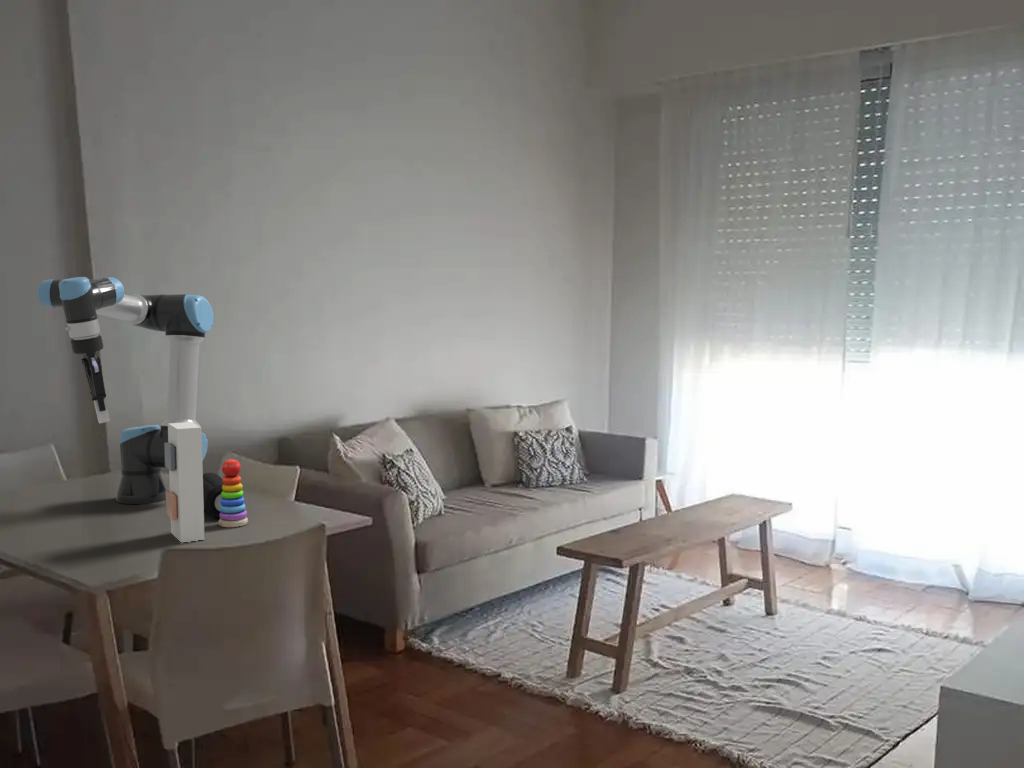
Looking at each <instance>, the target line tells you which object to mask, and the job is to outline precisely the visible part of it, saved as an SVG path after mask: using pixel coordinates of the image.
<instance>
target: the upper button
mask: <svg viewBox="0 0 1024 768" xmlns="http://www.w3.org/2000/svg"><path fill="white" fill-rule="evenodd" d="M164 448H165V467H166V468H165V469H167V470H168V471H169V470H170V471H175V468H177V464H176V447H175V446H174V445H171V444H170V443H164Z"/></svg>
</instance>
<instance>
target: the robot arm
mask: <svg viewBox="0 0 1024 768" xmlns="http://www.w3.org/2000/svg"><path fill="white" fill-rule="evenodd" d="M36 295H37V299H38V301H39V302H40V303H41V305H42V306H44V307H48V308H49V307H50V308H63V313H64V316H65V321H66V325H67V326H65V331H66V332H67V331H68V334H69V338H71V340H70V345H71V349H72V352H73V354H76V355H82V358H81V359H80V360H81V364H82V366H83V369H84V373H85V377H86V380H87V384H88V387H89V394H90V395H91V397H92V398H91V401H92V402H93V405H94V408H95V413H96V417H97V418H96V419H97V421H98V423H99V424H103V423H108V422H110V421H111V419H110V415H109V411H108V404H107V401H106V397H107V393H106V388H105V383H104V377H103V369H102V368H103V366H102V364H101V359H100V357H99V356H97V353H96V352H99V351H101V350H103V349H104V341H103V338H102V335H100V334H101V328H100V324H99V318H98V316H97V315H100V316H103V317H108V318H113V319H117V320H122V321H124V323H125V324H127V325H130V326H135V327H139V328H144V329H146V330H147V329H148V330H150V331H156V332H163V333H164V334H165V338H166V339H167V340H168V342H169V359H168V360H169V361H168V378H167V379H168V380H167V381H168V383H167V401H166V402H167V403H166V418H165V420H164V421H163V422H161V424H160V425H159V424H149V425H141V426H135V427H130V428H129V427H128V428H125V429H123V430H122V431H121V432H120V437H119V438H120V439H119V446H120V447H119V448H120V451H119V452H120V469H121V470H120V471H121V473H120V474H121V475H120V480H119V483H118V485H117V486H118V487H117V489H116V492H115V493H116V494H115V501H116V502H117V503H119V504H125V505H143V504H144V503H145V504H152V503H156V502H160V501H161V502H162V501H166V491H168V488H167V485H166V483H165V480H164V478H163V475H162V469H164V468H165V469H167V468H166V467H165V448H164V443H168V423H183V422H192V423H194V424H196V425H198V426H200V427H201V424H200V423H199V422H197V420H196V419H197V403H198V402H197V400H198V399H197V398H198V397H197V396H198V395H197V394H198V381H199V380H198V379H199V378H198V377H199V359H200V357H199V356H200V344H201V343H202V342H203V341H204V340H205V337H206V334H207V333H208V332H211V330H212V327H213V326H214V321H215V320H214V317H215V316H214V311H213V308H212V306H211V304H210V303H209V301H208V299H207V298H205V297H204V296H202V295H199V294H189V293H187V294H147V295H146V294H144V295H143V294H138V293H132V294H129V295H128V294H125V288H124V284H123V283H122V282H121V281H120V279H117V278H116V277H111V276H110V277H102V278H99V279H89V278H88V277H86V276H78V277H77V276H76V277H70V278H65V279H56V278H53V279H44V280H43V281H41V282H40V283H39V284H38V287H37V293H36ZM208 441H209V440H208V438H207V436H206V434H205V433H204V432H202V462H203V461H204V459H205V457H206V455H207V451H208V445H209V443H208Z"/></svg>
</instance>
